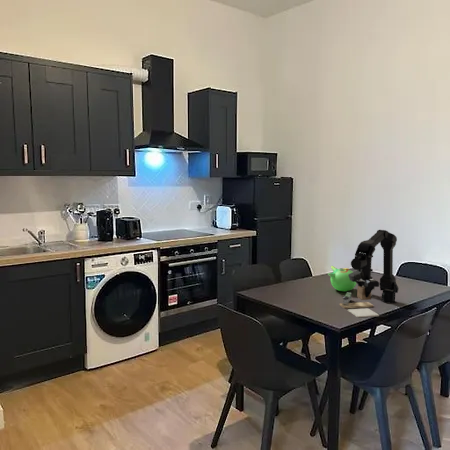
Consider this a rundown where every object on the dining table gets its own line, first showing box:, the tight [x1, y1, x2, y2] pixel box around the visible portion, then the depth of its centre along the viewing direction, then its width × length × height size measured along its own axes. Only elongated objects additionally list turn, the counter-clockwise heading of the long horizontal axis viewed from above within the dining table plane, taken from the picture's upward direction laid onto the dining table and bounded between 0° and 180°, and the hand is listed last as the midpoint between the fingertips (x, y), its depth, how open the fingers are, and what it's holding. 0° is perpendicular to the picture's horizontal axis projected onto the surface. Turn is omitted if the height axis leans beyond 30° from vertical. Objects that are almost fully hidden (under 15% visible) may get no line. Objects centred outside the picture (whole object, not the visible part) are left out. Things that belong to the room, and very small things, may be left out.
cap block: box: [356, 285, 372, 301], centre depth 226 cm, size 5×5×7 cm
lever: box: [342, 291, 352, 305], centre depth 244 cm, size 16×3×4 cm, turn 156°
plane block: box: [339, 301, 374, 309], centre depth 239 cm, size 17×6×1 cm, turn 101°
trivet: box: [347, 307, 380, 318], centre depth 227 cm, size 12×11×1 cm
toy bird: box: [327, 265, 357, 292], centre depth 270 cm, size 18×17×15 cm
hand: (364, 295), depth 226 cm, fingers closed on cap block, 5 cm apart
